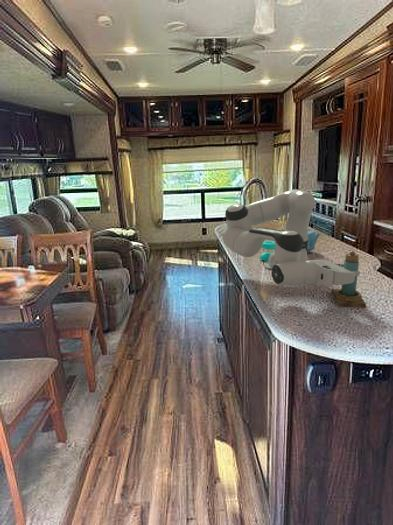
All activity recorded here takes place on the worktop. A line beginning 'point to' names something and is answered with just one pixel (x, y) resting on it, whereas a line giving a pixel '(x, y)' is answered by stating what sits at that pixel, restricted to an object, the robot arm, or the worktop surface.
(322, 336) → the worktop surface
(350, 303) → the base
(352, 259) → the pepper mill
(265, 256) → the donuts
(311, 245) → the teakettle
